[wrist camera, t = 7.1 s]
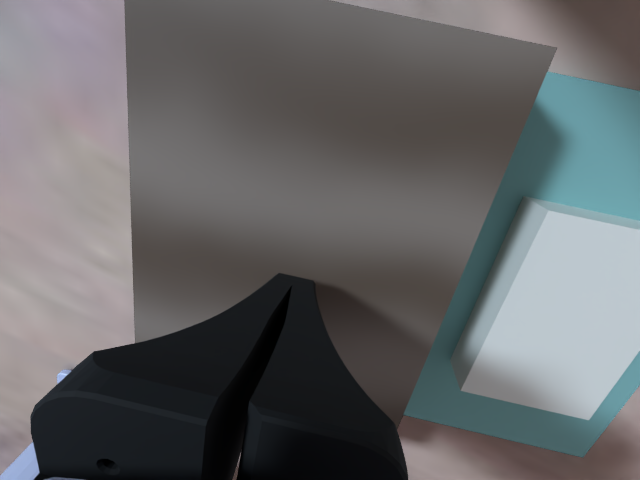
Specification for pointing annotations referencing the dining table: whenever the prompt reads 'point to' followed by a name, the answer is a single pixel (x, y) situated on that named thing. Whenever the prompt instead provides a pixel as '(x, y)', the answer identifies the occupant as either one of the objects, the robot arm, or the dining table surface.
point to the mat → (519, 180)
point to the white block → (555, 311)
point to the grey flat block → (317, 166)
